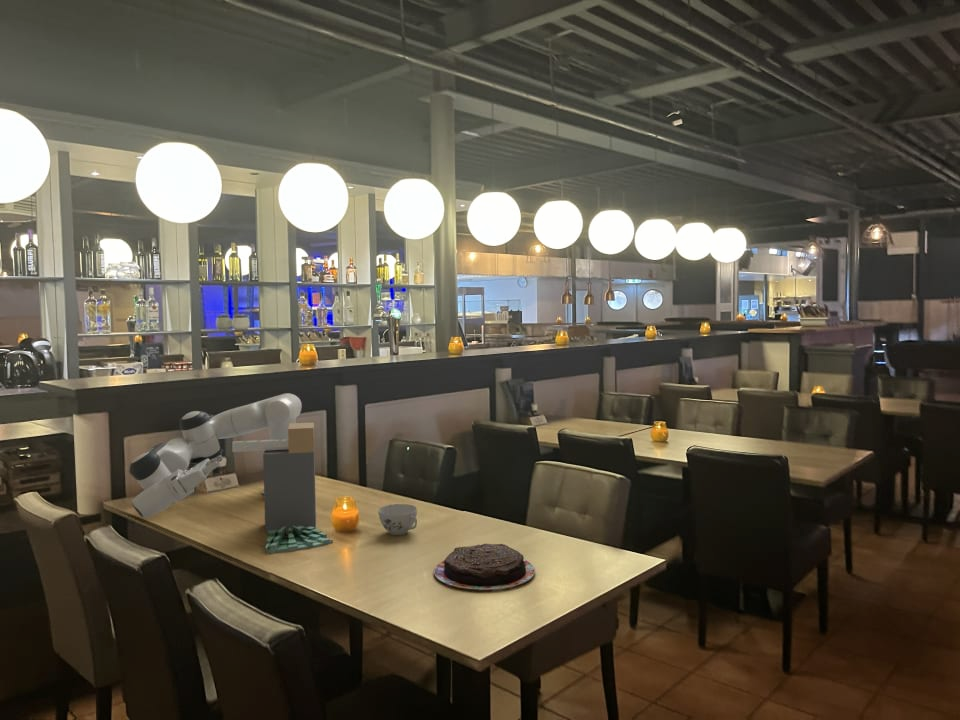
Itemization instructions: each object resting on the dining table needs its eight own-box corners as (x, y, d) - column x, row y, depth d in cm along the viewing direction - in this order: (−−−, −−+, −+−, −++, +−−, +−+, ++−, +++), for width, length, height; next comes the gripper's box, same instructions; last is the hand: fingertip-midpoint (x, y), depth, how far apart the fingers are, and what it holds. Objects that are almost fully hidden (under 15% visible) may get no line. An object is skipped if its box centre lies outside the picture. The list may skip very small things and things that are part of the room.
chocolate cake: (447, 599, 186) (447, 573, 186) (424, 563, 213) (423, 540, 212) (550, 587, 194) (550, 562, 194) (515, 553, 221) (515, 531, 220)
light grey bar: (233, 450, 244) (233, 441, 244) (308, 447, 249) (307, 438, 249) (232, 452, 241) (232, 442, 241) (307, 448, 246) (307, 439, 246)
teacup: (370, 533, 240) (370, 509, 239) (399, 524, 249) (398, 501, 249) (401, 543, 230) (401, 517, 229) (430, 533, 239) (430, 509, 239)
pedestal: (268, 522, 252) (265, 424, 250) (316, 519, 256) (313, 422, 253) (265, 533, 241) (262, 429, 238) (315, 530, 244) (313, 428, 241)
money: (304, 533, 242) (304, 518, 242) (333, 543, 231) (333, 528, 231) (248, 548, 228) (248, 532, 227) (277, 559, 216) (276, 543, 216)
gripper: (192, 483, 250) (229, 461, 252) (181, 499, 230) (221, 475, 232) (182, 468, 249) (218, 446, 251) (169, 482, 229) (209, 458, 231)
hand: (219, 460), depth 241 cm, fingers open, 8 cm apart
